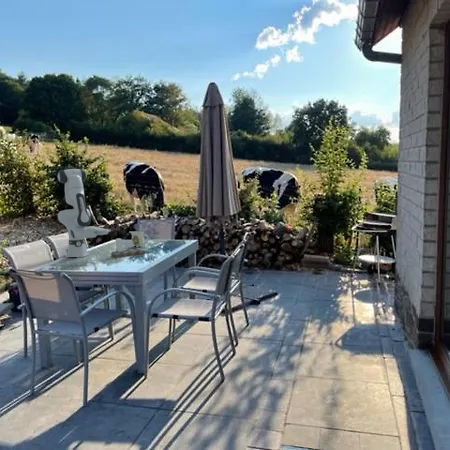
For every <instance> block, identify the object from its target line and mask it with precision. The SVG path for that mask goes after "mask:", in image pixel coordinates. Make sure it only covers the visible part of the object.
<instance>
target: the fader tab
mask: <svg viewBox="0 0 450 450" xmlns="http://www.w3.org/2000/svg"><path fill="white" fill-rule="evenodd" d="M115 245H116V253H119V252H123V248H124V246H123V239H122V238H115Z"/></svg>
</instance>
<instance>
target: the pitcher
mask: <svg viewBox="0 0 450 450" xmlns="http://www.w3.org/2000/svg"><path fill="white" fill-rule="evenodd" d="M129 233H130V234H131V242H132V245H133V247H134V246H136V247H135V248H140V247H139V246H142V247H143V246H144V245H145V244H147V243H148V242H149V236H148V234H144V231H139V230H138V231H136V230H135V231H129ZM145 238H146V241H145Z"/></svg>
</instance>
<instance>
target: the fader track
mask: <svg viewBox="0 0 450 450" xmlns="http://www.w3.org/2000/svg"><path fill="white" fill-rule="evenodd" d="M141 248H142V247H137V248H130V249H124V250H123V252H119V253H116V251H117V250H116V251H111V253H110V256H111V257H113V258H115V259H117V258H123V257H130V256H138V255H144V254H145V249H144V248H143V249H141Z"/></svg>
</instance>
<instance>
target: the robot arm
mask: <svg viewBox="0 0 450 450" xmlns="http://www.w3.org/2000/svg"><path fill="white" fill-rule="evenodd" d="M87 177H88V176H87V172H86V170H85V169H84V168H70V169H61V170H59V171H58V173H57V180H58V182H59V183H61V184H64V196H65V202H66V204H67V205H70V206H72V207H73V208H72V209H71V208H70V209H64V210H60V211H59V212H58V214H57V220H58V221H59V223H61V224H63V225H64V226H65V228H66V230H67V232H68V245H67V247H66V249H65V253H64V257H65V258H66V257H77V258H82V257H87V256H89V255H90V254H89V252H88V249H87V245H86V243H85V240H84V239H90V238H91V239H92V238H96V237H97V236H102V235H108V234H109V233H110V232H112V229H110V228H102V227H98V226H97V227H96V226H95V225H93V226H90V224H91V222H92V218H91V214H92V213H91V211H90V210H89V209H88V208H87V204H86V203H87V202H86V199H85V191H84V182H86V180H87Z"/></svg>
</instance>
